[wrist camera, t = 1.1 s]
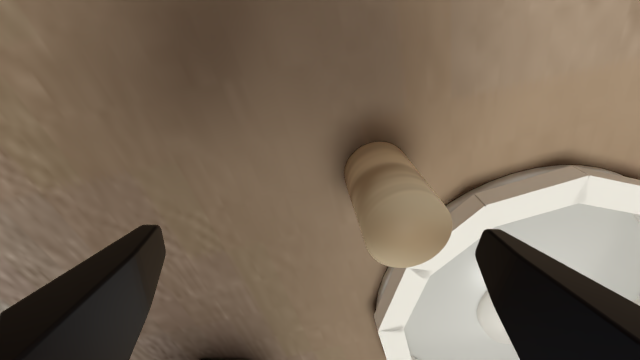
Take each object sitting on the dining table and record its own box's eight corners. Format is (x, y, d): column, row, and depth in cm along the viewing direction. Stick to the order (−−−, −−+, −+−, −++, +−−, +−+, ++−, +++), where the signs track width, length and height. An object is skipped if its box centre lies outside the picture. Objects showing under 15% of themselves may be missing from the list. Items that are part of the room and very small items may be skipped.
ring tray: (558, 387, 37) (576, 412, 35) (343, 372, 32) (347, 399, 30) (731, 195, 26) (771, 213, 24) (442, 134, 22) (460, 148, 19)
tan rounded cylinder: (395, 204, 24) (432, 272, 18) (337, 194, 23) (354, 262, 17) (417, 148, 22) (467, 203, 16) (354, 135, 21) (380, 187, 15)
